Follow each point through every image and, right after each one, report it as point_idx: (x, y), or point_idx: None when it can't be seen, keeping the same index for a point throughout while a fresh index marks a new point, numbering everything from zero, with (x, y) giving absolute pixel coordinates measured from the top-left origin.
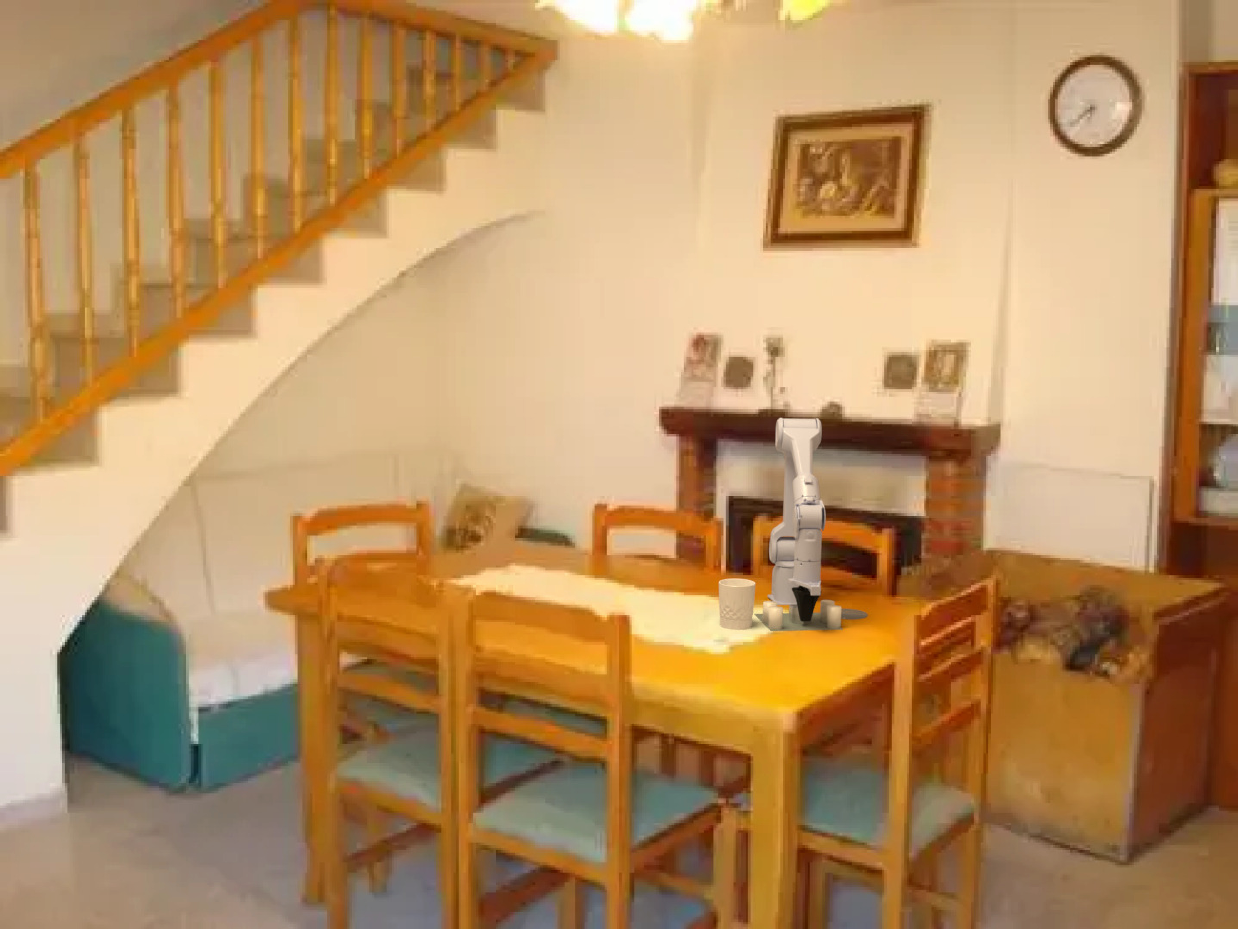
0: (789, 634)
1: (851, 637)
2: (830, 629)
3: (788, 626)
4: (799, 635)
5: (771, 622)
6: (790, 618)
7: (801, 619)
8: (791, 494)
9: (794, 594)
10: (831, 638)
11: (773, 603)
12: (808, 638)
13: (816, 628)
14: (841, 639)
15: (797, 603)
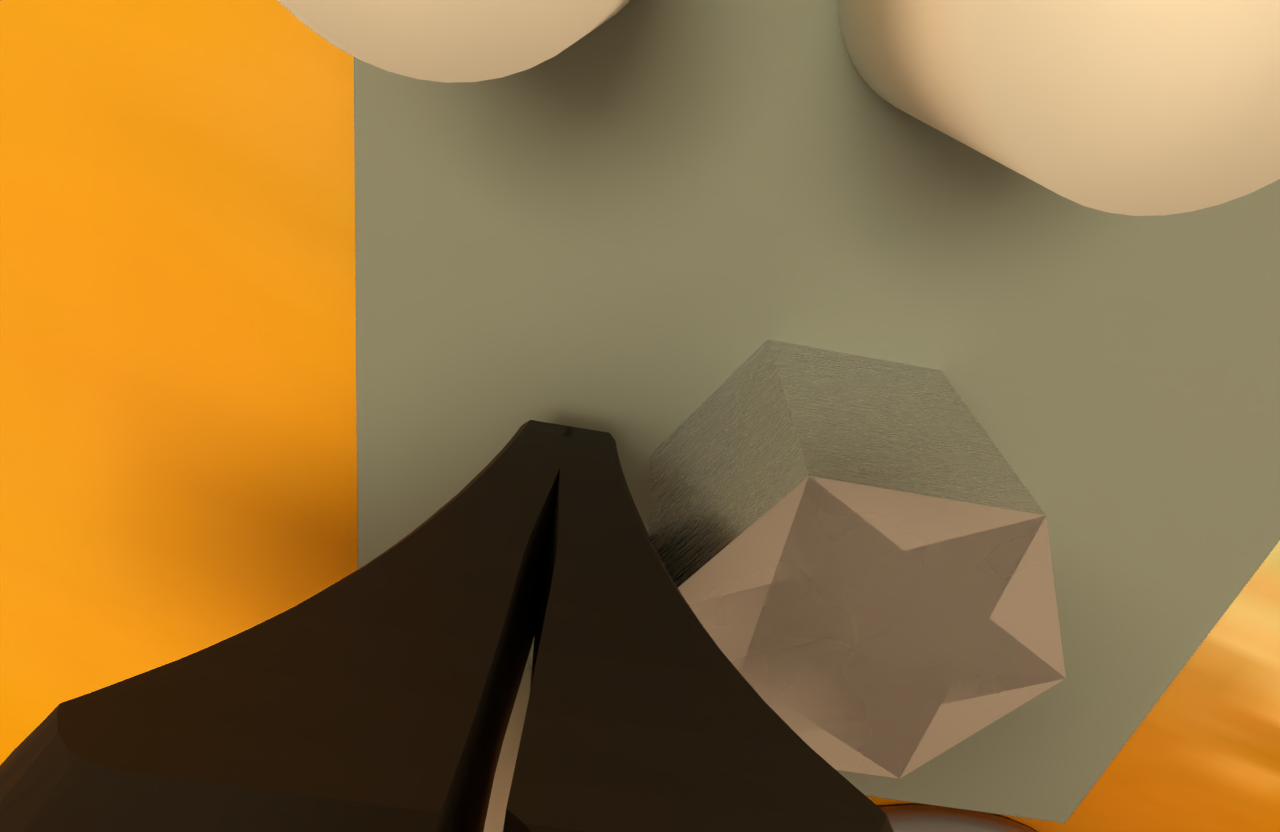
0: (240, 38)
1: (114, 680)
2: None
3: (606, 204)
4: (178, 177)
5: None
6: (866, 379)
7: (521, 433)
8: None
9: (719, 727)
10: (46, 500)
11: (1047, 37)
12: (5, 231)
13: (424, 515)
14: (12, 572)
15: (611, 581)
